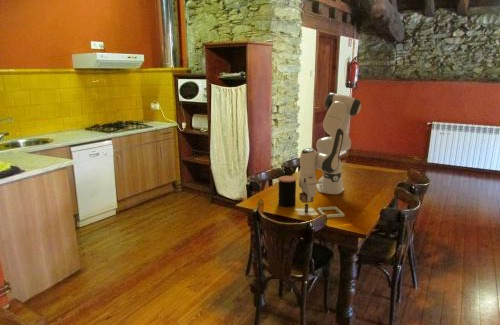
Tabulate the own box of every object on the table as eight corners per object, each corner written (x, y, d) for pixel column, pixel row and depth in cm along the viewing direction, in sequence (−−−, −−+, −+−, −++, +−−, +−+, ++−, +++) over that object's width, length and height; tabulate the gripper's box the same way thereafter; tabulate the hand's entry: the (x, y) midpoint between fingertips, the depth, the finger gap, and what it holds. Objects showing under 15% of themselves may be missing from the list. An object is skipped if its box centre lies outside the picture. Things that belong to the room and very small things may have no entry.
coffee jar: (298, 207, 218) (299, 179, 213) (282, 209, 215) (283, 181, 210) (290, 201, 228) (291, 175, 223) (275, 203, 224) (276, 176, 220)
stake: (294, 210, 213) (294, 201, 212) (312, 209, 215) (312, 200, 214) (300, 217, 203) (300, 208, 202) (318, 216, 205) (318, 207, 203)
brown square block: (299, 199, 210) (299, 192, 209) (309, 198, 211) (309, 192, 210) (302, 202, 204) (303, 196, 203) (313, 202, 205) (313, 195, 204)
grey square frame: (316, 211, 211) (317, 207, 211) (335, 210, 213) (335, 206, 213) (324, 219, 200) (324, 215, 199) (344, 218, 202) (344, 214, 201)
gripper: (296, 171, 213) (296, 193, 216) (307, 182, 193) (306, 205, 197) (306, 171, 214) (305, 192, 217) (318, 181, 194) (317, 204, 198)
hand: (306, 198), depth 207 cm, fingers closed on brown square block, 6 cm apart
